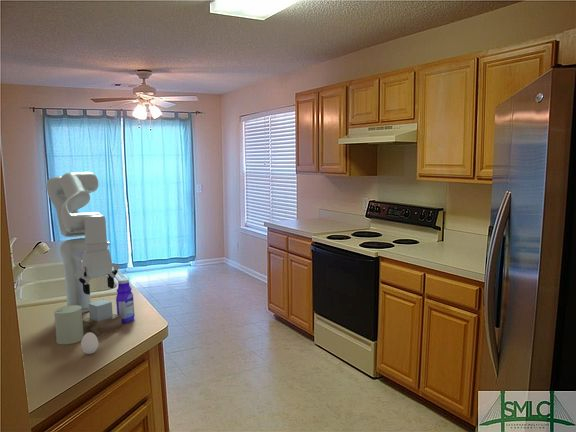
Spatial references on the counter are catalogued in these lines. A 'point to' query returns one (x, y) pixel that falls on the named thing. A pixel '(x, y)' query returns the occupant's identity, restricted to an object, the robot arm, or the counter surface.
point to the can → (69, 324)
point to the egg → (89, 343)
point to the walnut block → (102, 325)
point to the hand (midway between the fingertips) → (99, 290)
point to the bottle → (125, 301)
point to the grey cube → (100, 310)
